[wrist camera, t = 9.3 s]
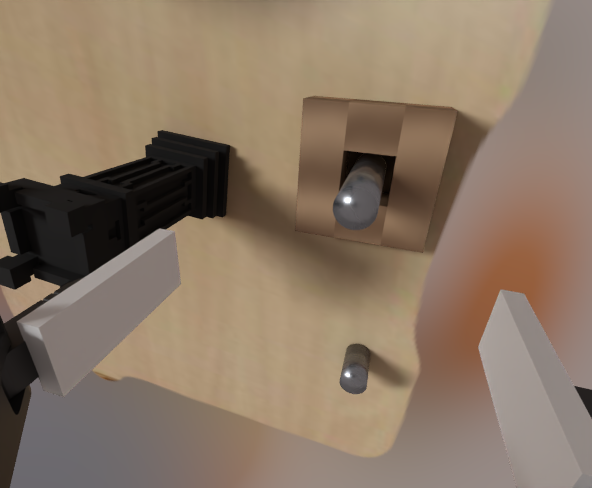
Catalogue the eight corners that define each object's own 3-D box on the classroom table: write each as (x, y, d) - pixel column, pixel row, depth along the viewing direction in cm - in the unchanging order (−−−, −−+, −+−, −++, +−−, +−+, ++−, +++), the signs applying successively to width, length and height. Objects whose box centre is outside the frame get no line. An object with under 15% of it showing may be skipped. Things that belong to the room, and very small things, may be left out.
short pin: (347, 341, 43) (341, 370, 39) (372, 346, 43) (368, 377, 38) (344, 359, 45) (338, 390, 40) (368, 365, 44) (364, 396, 40)
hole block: (314, 96, 32) (303, 98, 29) (451, 107, 30) (457, 111, 26) (305, 216, 38) (295, 230, 34) (421, 235, 35) (422, 252, 32)
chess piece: (229, 145, 37) (72, 207, 19) (225, 215, 40) (90, 319, 23) (162, 130, 38) (-42, 175, 21) (164, 199, 42) (-7, 286, 24)
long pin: (357, 150, 33) (335, 184, 23) (389, 154, 33) (382, 191, 22) (352, 180, 35) (330, 225, 24) (383, 185, 34) (373, 234, 24)
